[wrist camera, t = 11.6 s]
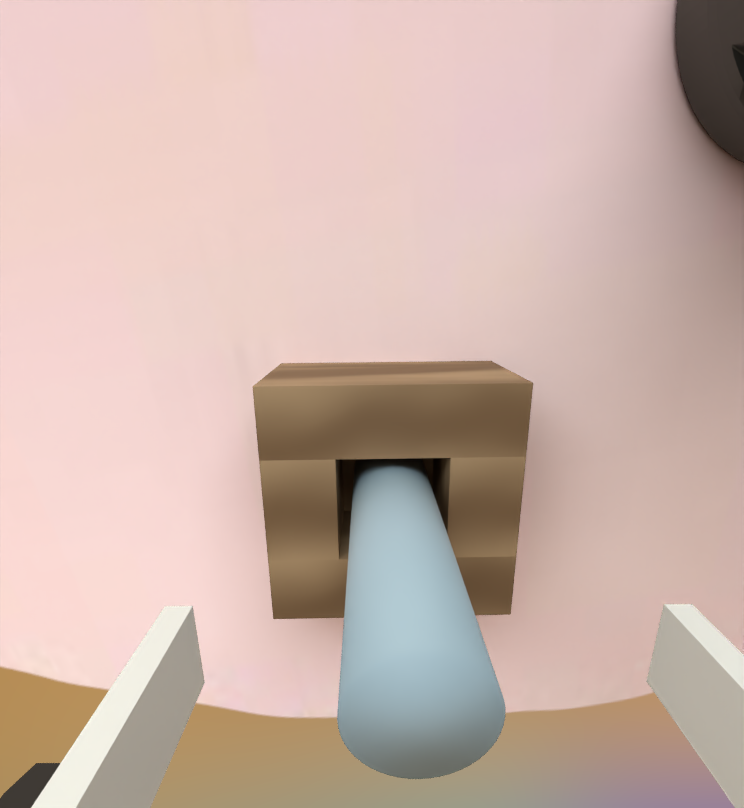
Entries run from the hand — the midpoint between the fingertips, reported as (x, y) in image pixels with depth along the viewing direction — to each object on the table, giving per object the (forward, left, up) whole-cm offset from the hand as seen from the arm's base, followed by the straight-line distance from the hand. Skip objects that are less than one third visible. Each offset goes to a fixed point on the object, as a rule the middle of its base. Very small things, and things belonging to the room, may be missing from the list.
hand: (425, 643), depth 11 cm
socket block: (0, 0, -14) cm, 14 cm away
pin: (0, 0, -12) cm, 12 cm away
